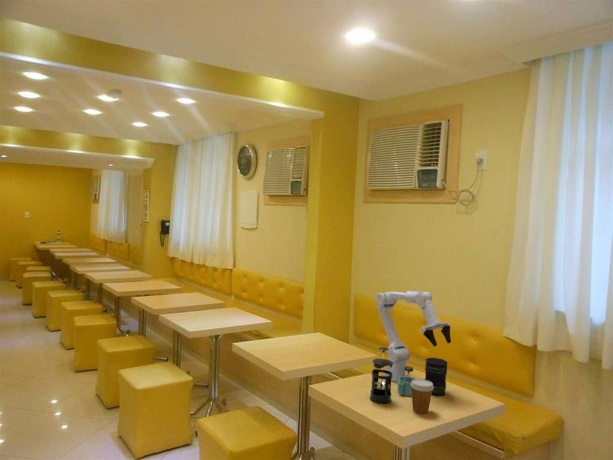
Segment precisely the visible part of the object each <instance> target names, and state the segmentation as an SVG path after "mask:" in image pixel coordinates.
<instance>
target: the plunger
mask: <svg viewBox="0 0 613 460" xmlns="http://www.w3.org/2000/svg"><path fill="white" fill-rule="evenodd" d="M404 370H405V372H407V373H406V374H407V376H406V377H407V381H404V382H406V383H411V382H409V377H411V376H410V373H411V372H412V373H413V372H414V367H412V366H407V365H406V366H405V368H404Z"/></svg>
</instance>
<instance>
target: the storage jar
mask: <svg viewBox="0 0 613 460" xmlns="http://www.w3.org/2000/svg"><path fill="white" fill-rule="evenodd" d="M424 366H425V368H424V372H425V377H424V380H427V381H430V382H432V383H433V386H434V389H433V390H432V395H431V397H435V398H439V397H444V396H446V390H447V382H446V379H447V374H448V361H447V360H445V359H442V358H437V357H427V358H426V359H425V364H424Z"/></svg>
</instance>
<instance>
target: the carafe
mask: <svg viewBox="0 0 613 460" xmlns="http://www.w3.org/2000/svg"><path fill="white" fill-rule="evenodd" d="M414 379H416V378H415V377H413V376H409V382H412V380H414ZM404 381H407V376H405V377H403V376H402V377H400V378H398V382H397V393H398V394H399V395H402V396H404V397H412V387H411V383H406V382H404Z"/></svg>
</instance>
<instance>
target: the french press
mask: <svg viewBox="0 0 613 460" xmlns="http://www.w3.org/2000/svg"><path fill="white" fill-rule="evenodd" d="M378 349H379V350H380V351H382V358H375V359H372V363H373V364H372V365H373V369H372V371H371V379H372V380H371V388H370V389H371V390H370V396H369V399H370V401H371V402H372V403H376V404H380V405H381V404H382V405H385V404H386V405H387V404H390V403H391V402H392V392H391V391H392V380H391V378H392V375H393V374H392V372H390V371H387V370H386V369H384V367H385V368H386V366H390V367H391V368H392V365H393V362H392V361H390V359H386V358H384V356H385V351H388V350H389V349H388V347H384V346H382V347H378ZM380 373H381V375H380ZM385 373H387V374H389V376H385V375H383V374H385ZM379 379H380V381H379ZM383 380H384V381H385V382H383Z"/></svg>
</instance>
